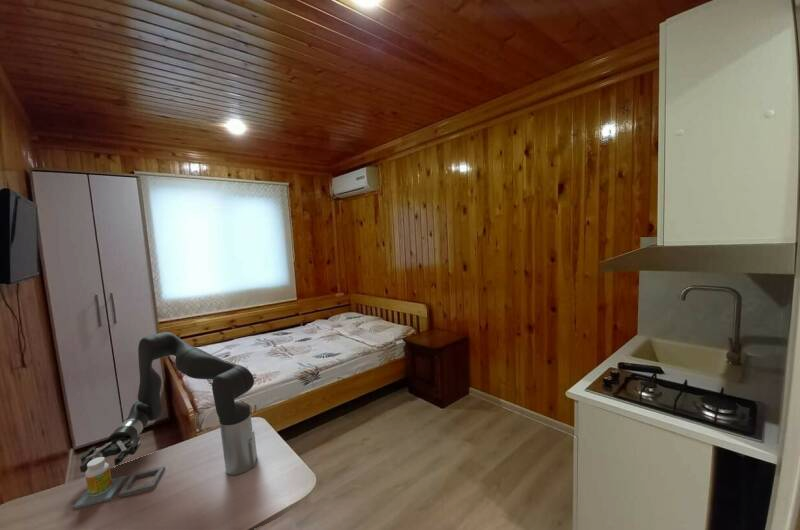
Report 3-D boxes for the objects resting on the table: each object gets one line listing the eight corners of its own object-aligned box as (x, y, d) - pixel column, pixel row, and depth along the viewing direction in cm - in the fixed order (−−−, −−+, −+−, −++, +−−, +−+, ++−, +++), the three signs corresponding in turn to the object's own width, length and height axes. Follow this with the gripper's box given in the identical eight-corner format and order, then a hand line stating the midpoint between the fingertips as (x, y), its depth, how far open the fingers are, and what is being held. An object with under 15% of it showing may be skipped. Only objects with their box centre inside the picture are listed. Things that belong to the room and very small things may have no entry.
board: (126, 478, 106) (125, 475, 106) (111, 499, 97) (110, 497, 97) (92, 485, 103) (92, 483, 103) (73, 508, 95) (73, 506, 94)
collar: (165, 469, 109) (164, 466, 109) (153, 489, 100) (153, 485, 100) (133, 476, 106) (133, 473, 106) (119, 497, 98) (118, 494, 98)
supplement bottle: (98, 498, 97) (92, 468, 96) (84, 496, 98) (78, 466, 97) (117, 484, 102) (112, 455, 101) (103, 482, 103) (98, 454, 102)
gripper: (99, 429, 113) (68, 461, 98) (147, 420, 117) (125, 449, 102) (103, 449, 114) (72, 483, 99) (150, 439, 118) (128, 470, 103)
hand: (99, 466), depth 100 cm, fingers open, 8 cm apart
